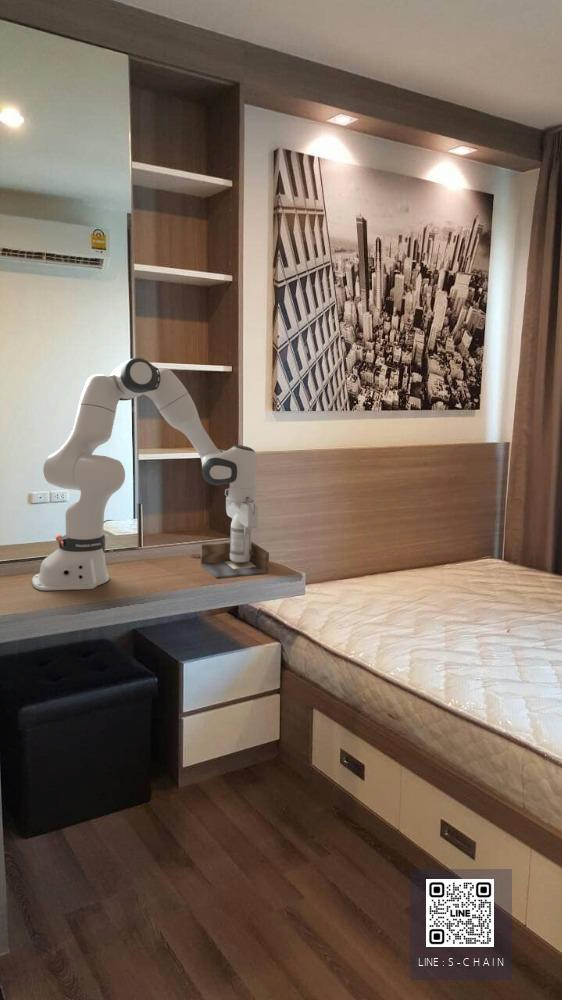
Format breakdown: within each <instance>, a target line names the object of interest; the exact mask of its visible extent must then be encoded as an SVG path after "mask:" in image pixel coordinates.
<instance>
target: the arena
mask: <svg viewBox="0 0 562 1000" xmlns="http://www.w3.org/2000/svg"><path fill="white" fill-rule="evenodd" d="M269 561H270V553H269V552H268V551H266V550H265V549H263V548H262V547H260V546H259V545H258V544H256V543H255V542H253V541H252V540H251V555H250V560H249V561H247V562H234V561H232V560H230V541H227V542H213V543H201V544H200V561H199V563H200V564H199V565H200V566H202V568H204V570H206V571H207V572H208V573H210V574H211V575H212V576H213V577H214V578H215V579H225V578H235V577H237V578H238V577H246V576H247V577H248V576H255V575H256V576H257V575H266V574H267V575H268V574H269V564H270V563H269Z"/></svg>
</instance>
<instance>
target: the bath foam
mask: <svg viewBox="0 0 562 1000" xmlns="http://www.w3.org/2000/svg"><path fill="white" fill-rule="evenodd" d="M238 509H239V506H237V510H238ZM252 530H253V528H251V531H250V533H249V539H245V538H243V533H244V526H243V525H242V524H240V522H239V517H238V514H236V515H235V516H234V518H233V519H232V518H231V523H230V535H229V536H230V537H229V538H230V540H229V542H230V560H232V561H234V562H247V561H249V560H250V555H251V541H252Z"/></svg>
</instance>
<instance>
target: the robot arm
mask: <svg viewBox="0 0 562 1000" xmlns="http://www.w3.org/2000/svg"><path fill="white" fill-rule="evenodd" d="M142 395H143V396H147V397H148V398H149V399H150V400H151V401H152V402H153V403H154V405H155V407H156V409H157V410H158V411H159V413H160V415H161V416H162V418H163V419H164V420H165V421H166V422H167V424H169V426H171V427H172V428H173V429H175V430H177V431H179V432H181V433H182V434H183V435H185V437H186V438H187V439H188V440H189V441H190V444H191V445H192V446H193V448H194V450H196V452H197V454H198V455H199V458H200V461H201V474H202V477H203V479H204V480H205V482H206V483H209V484H210V485H212V486H220V485H226V484H229V488H226V489H225V490H224V495H225V496H226V497H225V511H226V515H227V516H228V517H229V518H231V520H232V519H233V518H234V516H235V515H236V514H238V517H239V522H240V524H242V525H243V526H244V533H243V538H245V539H249V533H250V531H251V532H252V529H257V528H258V526H259V509H258V506H257V504H255V501H256V500H257V481H256V478H257V473H258V458H257V454H256V453H257V452H256V451H255V449H253V448H251V447H249V446H245V445H239V444H235V445H233V446H232V447H231V448H229V449H227V450H224V451H223V450H221V449H220V448H218V447H217V446H216V445H215V442H213V440H212V438H211V437H210V435H209V434H208V432H207V431H206V429H205V427H204V425H203V424H202V421H201V418H200V416H199V413H198V410H197V406H196V405H195V402H194V400H193V399H192V396H191V395H190V393H189V391H188V389H187V388H186V387H185V385H184V384H183V383H182V382H181V380H180V379H179V378H178V377H177V375H176V374H175V373H174V371H172V370H170V369H169V368H166V367H163V368H162V367H161V368H160V367H159V368H158V367H156V366H154V365H153V364H152V363H151V362H149V361H148V360H146V359H145V358H141V357H134V358H133V357H132V358H129V359H127V360H126V361H125V362H122V363H121V364H119V365H117V366H116V367H115V369H113V370H112V371H111V372H110V373H109V374H108V375H107V374H103V373H97V374H93V375H91V376H90V377H88V378H87V380H86V382H85V385H84V387H83V390H82V392H81V396H80V399H79V403H78V407H77V411H76V414H75V415H76V416H75V418H74V419H75V420H74V423H73V427H72V430H71V432H70V434H69V436H68V438H67V439H66V440H65V442H64V443H63V445H61V447H60V448H59V449H58V450H56V451H55V452H53V453H51V454H50V455H49V456H48V457H47V458H46V459H45V461H44V463H43V467H42V470H43V471H42V472H43V476H44V478H45V481H47V483H48V484H50V485H51V486H54V487H57V488H61V489H64V490H65V489H66V490H76V491H80V497H79V500H78V501H77V502H75V503H73V504H70V506H69V507H68V508H67V509H66V511H65V535H61V534H57V535H56V536H55V540H56V542H58V548H57V549H56V550H55V551H54V552H52V553H50V554H49V555H48V556H46V557H45V558H44V559H42V562H41V565H40V568H39V573H37V574H35V575H34V576H33V577H32V578H31V579H32V580H31V583H32V586H33V588H35V589H37V590H39V591H69V590H70V591H71V590H93V589H95V588H97V587H98V586H100V585H102V584H105V583H107V582H108V581H109V580H110V575H109V574H108V570H107V565H106V558H105V557H106V556H105V552H106V536H105V534H104V523H105V522H104V521H105V519H104V518H105V510H106V506H107V504H108V501H109V500H110V498H111V497H112V496H113V494H115V493H116V492H117V491H119V490H120V489H121V488H122V487H123V484H124V483H125V479H126V471H125V466H124V465H123V463H122V462H121V461H120V460H118V459H115V458H112V457H111V456H106V455H98V454H93V453H94V451H96V449H97V448H98V447H99V446H101V445H104V444H106V443H107V442H108V441H109V440H110V439H111V436H112V433H113V428H114V423H115V419H116V418H115V417H116V413H117V408H118V407H117V406H118V404H119V401H130V400H133V399H135V398H138V397H140V396H142ZM237 506H239V509H238V510H237ZM251 528H252V529H251Z"/></svg>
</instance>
